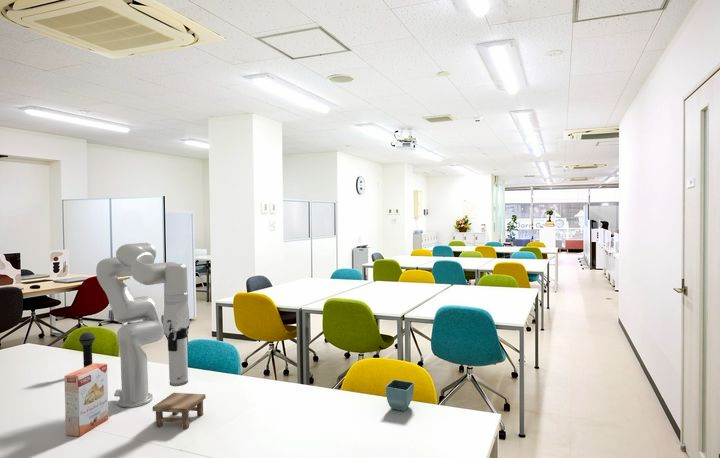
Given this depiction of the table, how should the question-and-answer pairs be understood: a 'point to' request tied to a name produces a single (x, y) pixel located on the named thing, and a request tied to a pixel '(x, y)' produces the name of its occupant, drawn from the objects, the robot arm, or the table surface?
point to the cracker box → (86, 399)
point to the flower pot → (399, 394)
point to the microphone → (87, 347)
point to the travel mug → (179, 360)
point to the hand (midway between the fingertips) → (178, 347)
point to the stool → (179, 408)
